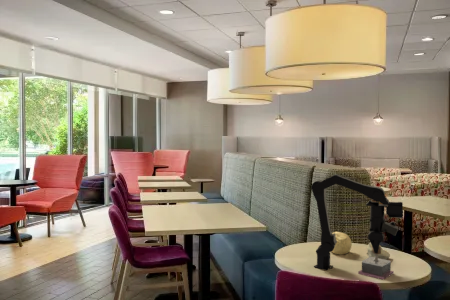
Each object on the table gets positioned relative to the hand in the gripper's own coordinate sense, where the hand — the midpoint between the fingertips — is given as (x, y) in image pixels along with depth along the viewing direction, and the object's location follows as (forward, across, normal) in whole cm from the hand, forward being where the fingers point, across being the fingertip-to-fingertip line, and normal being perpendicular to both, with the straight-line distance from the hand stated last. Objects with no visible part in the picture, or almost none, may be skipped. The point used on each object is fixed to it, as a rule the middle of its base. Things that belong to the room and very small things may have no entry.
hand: (376, 252), depth 182 cm
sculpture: (+10, +27, +19) cm, 34 cm away
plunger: (+5, 0, 0) cm, 5 cm away
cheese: (+10, +20, 0) cm, 22 cm away
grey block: (+9, 0, 0) cm, 9 cm away
